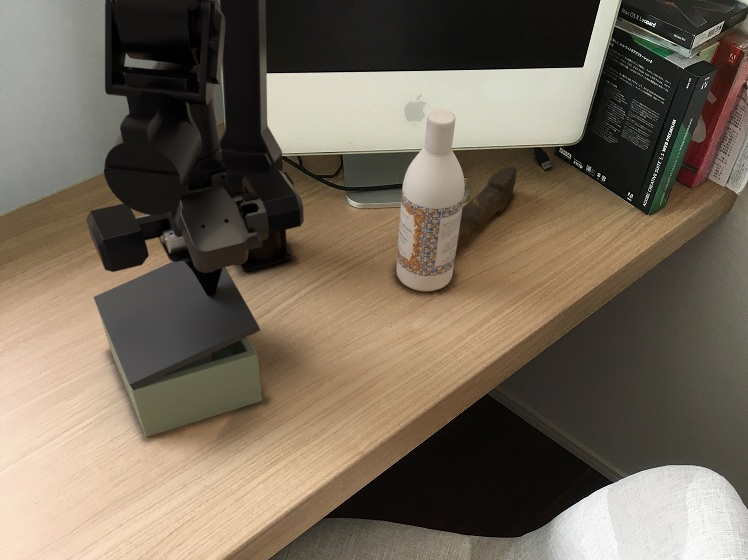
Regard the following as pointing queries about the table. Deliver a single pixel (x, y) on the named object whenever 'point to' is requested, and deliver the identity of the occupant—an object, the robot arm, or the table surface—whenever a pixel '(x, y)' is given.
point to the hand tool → (486, 203)
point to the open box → (197, 389)
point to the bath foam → (431, 209)
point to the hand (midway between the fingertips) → (209, 292)
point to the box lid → (171, 320)
